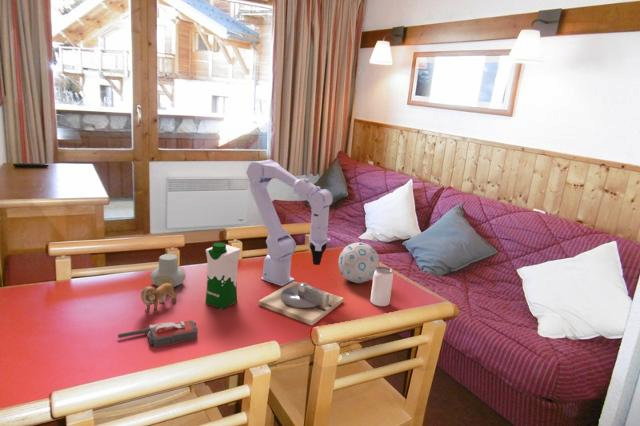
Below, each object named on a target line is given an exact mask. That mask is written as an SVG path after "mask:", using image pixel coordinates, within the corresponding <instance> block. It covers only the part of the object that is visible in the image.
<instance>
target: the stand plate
mask: <svg viewBox="0 0 640 426" xmlns="http://www.w3.org/2000/svg"><path fill="white" fill-rule="evenodd" d="M299 283H300V282H297V281H295V280H293V281H291V282H289V283H287V284H286V285H284V286H281V288H279V289H277V290H275V291H274V292H271V293H270V294H268V295H266V296H264V297H263V298H261V299H259V300H258V303H257V304H258V306H260V307H263V308H266V309H267V310H270V311H272V312H276V313H278V314H281V315H283V316H286V317H289V318H292V319H294V320H297V321H298V322H302V323H305V324H306V325H309V326H314V325H315V324H316V323H317V322H318V321H320V320H321V319H322V318H324V317H326V316H327V315H328V314H329V313H330V312H332V311H333V310H334V309H335V308H337V307H338V306H340V305H342V303H343V302H344V297H342V296H339V295H336V294H332V293H331V292H326V291H325V292H326V293H329V294H330V295H329V305H328V306H327V307H323V306H319V307H317V308H313V309H297V308H292V307H290V306H287V305H285V304H284V303H283V302H282V301H281V292H282V291H283V290H285V289H287V288H290V287H296V286H299Z"/></svg>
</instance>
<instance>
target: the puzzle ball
mask: <svg viewBox="0 0 640 426" xmlns="http://www.w3.org/2000/svg"><path fill="white" fill-rule="evenodd" d="M377 267H380V258H379V255H378V252H377V251H376V249H375V248H374V247H372V246H371V245H370V244H368V243H365V242H361V241H359V242H358V241H357V242H351V243H349V244H348V245H346V246H345V247H344V248H343V249H342V250H341V252H340V253H339V257H338V269H339V271H340V274H341V275H342V276H343V278H345V280H348V281H349V282H351V283H354V284H363V283H365V282H369V281H370V280H373V276H374V272H375V270H376V268H377Z"/></svg>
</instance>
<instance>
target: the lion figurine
mask: <svg viewBox="0 0 640 426" xmlns="http://www.w3.org/2000/svg"><path fill="white" fill-rule="evenodd" d="M167 295H168V296H170V297H172V298H173V300H172V303H177V302H178V301H177V294H175V287H173V285H172V284H170V283H165V284H162V285H161V286H160V287H159V286H157V287H154V286H150V285H146V286H145V287H143V288H142V290H141V291H140V298H141V300H142V303H143V304H144V305H146V308H145V310H144V311H145V312H147V313H148V312H149V311H150V310H151V305H153V314H157V313H158V312H159V311H158V310H159V309H158V303H159V304H163V303H165V301H166V299H167ZM159 300H160V301H159Z"/></svg>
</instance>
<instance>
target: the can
mask: <svg viewBox="0 0 640 426" xmlns="http://www.w3.org/2000/svg"><path fill="white" fill-rule="evenodd" d="M393 279H394V273H393V269H392V268H390V267H386V266H379V267H377V268H376V270H375V272H374V276H373V278H372V286H371V292H370V293H371V294H370V302H371V304H372V305H373V306H376V307H380V308H383V307H387V306H388V305H390V300H391V295H392V287H393V281H394V280H393Z"/></svg>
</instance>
